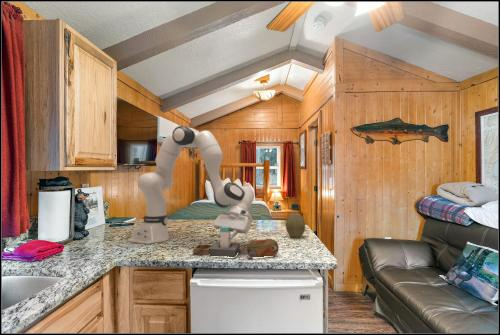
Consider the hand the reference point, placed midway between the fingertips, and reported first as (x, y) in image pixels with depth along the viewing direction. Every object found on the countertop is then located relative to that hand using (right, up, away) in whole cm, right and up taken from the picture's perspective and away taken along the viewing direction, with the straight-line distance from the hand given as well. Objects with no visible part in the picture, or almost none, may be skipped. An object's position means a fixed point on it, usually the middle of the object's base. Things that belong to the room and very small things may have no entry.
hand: (224, 237), depth 121 cm
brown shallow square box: (-10, -8, +2) cm, 13 cm away
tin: (+18, -8, -4) cm, 20 cm away
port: (0, -8, 0) cm, 8 cm away
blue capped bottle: (0, -6, 0) cm, 6 cm away
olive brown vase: (+39, -8, +31) cm, 51 cm away
